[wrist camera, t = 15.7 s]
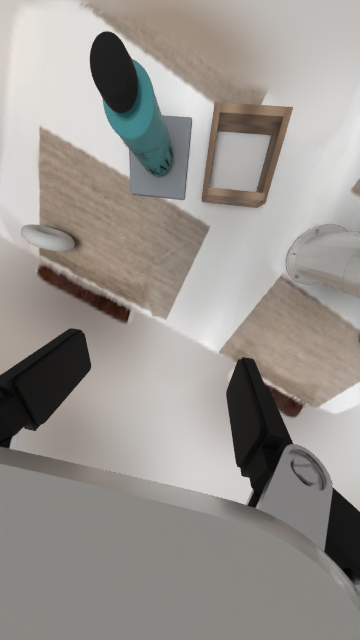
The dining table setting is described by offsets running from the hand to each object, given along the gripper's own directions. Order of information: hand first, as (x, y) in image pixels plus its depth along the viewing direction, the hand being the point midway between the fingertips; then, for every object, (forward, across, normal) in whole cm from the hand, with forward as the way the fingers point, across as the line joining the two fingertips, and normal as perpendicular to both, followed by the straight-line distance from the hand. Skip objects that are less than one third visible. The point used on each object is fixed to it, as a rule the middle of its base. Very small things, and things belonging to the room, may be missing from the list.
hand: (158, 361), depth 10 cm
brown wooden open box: (+36, -6, -20) cm, 42 cm away
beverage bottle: (+36, +10, -20) cm, 42 cm away
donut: (+36, +35, -3) cm, 51 cm away
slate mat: (+36, +10, -20) cm, 43 cm away
